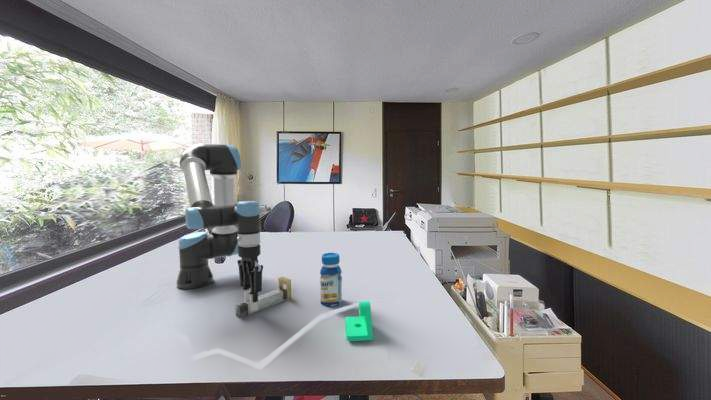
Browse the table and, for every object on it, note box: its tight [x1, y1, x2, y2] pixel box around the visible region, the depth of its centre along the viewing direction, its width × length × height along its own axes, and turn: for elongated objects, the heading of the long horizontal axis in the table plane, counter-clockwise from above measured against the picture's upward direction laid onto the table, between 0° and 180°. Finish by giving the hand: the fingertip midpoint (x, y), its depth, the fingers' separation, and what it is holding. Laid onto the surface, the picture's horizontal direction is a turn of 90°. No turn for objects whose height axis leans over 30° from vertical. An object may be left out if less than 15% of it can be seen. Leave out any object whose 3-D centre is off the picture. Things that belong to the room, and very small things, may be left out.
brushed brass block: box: [277, 276, 293, 302], centre depth 117 cm, size 6×2×8 cm, turn 50°
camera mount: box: [344, 300, 374, 342], centre depth 94 cm, size 12×8×10 cm, turn 5°
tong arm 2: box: [237, 290, 284, 319], centre depth 109 cm, size 18×2×4 cm, turn 140°
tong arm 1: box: [235, 288, 279, 317], centre depth 110 cm, size 18×2×4 cm, turn 141°
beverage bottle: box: [319, 252, 343, 310], centre depth 113 cm, size 8×8×20 cm
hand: (251, 308), depth 106 cm, fingers open, 3 cm apart
